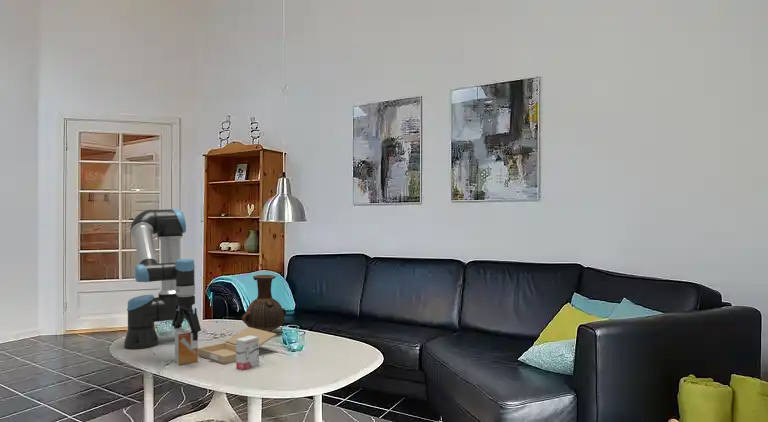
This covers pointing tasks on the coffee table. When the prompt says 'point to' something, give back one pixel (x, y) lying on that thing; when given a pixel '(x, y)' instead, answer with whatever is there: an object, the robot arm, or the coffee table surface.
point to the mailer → (219, 353)
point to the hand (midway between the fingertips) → (186, 345)
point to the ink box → (247, 352)
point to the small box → (184, 348)
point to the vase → (264, 307)
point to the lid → (249, 331)
